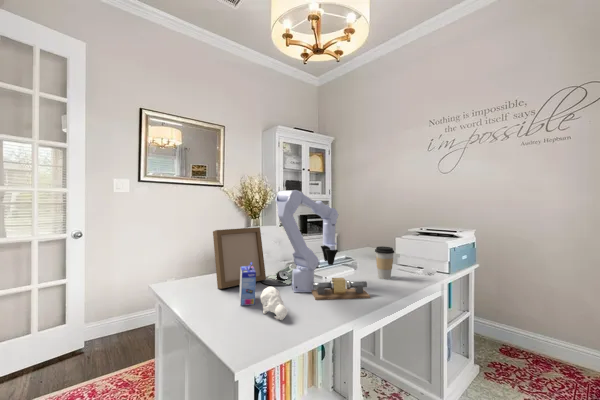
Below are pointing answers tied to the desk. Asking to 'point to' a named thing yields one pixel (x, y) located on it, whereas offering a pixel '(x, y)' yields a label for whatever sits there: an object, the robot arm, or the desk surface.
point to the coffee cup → (384, 261)
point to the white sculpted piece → (273, 302)
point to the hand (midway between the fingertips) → (328, 262)
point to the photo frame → (237, 254)
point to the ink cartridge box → (247, 285)
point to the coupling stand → (352, 292)
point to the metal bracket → (287, 275)
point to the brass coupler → (339, 286)
